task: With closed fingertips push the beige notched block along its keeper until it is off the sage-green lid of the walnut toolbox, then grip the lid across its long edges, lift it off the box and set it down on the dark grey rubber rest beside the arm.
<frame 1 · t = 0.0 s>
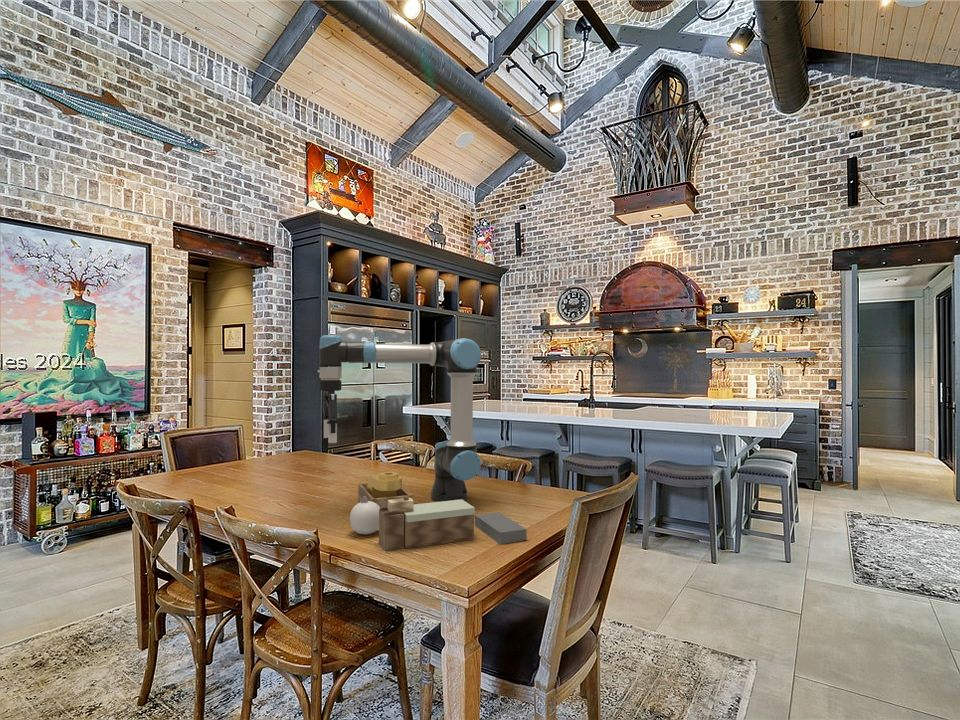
hand: (330, 440, 179), 28 cm above the table, fingers open, 13 cm apart
ornament: (366, 534, 165), on the table
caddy: (383, 514, 186), on the table
beige notched block: (400, 503, 155), point 12 cm above the table, slide at 0.0 cm
toolbox: (435, 539, 159), on the table
lid: (436, 513, 159), point 8 cm above the table, touching toolbox
rest: (499, 532, 166), on the table
tan round stepped piece: (383, 515, 185), resting in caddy
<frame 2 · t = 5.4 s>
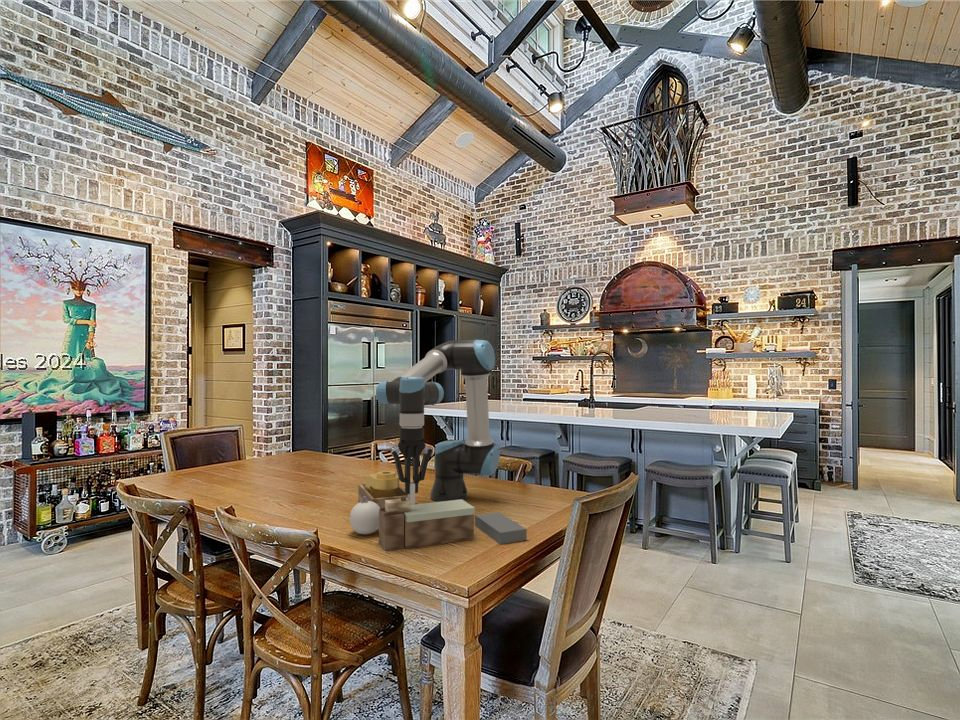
hand: (411, 504, 156), 12 cm above the table, fingers closed
beige notched block: (397, 503, 155), point 12 cm above the table, slide at 0.9 cm, touching gripper
tan round stepped piece: (381, 514, 187), resting in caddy
everything else where it was.
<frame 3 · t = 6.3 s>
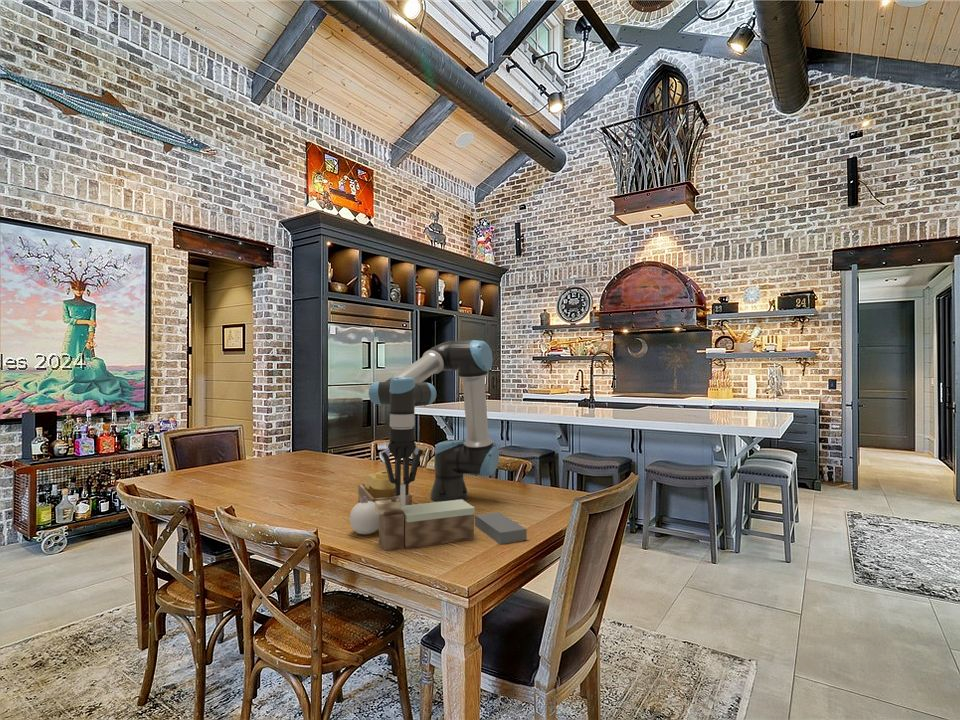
hand: (401, 505, 155), 12 cm above the table, fingers closed
beige notched block: (388, 504, 154), point 12 cm above the table, slide at 3.9 cm, touching gripper
everything else where it was.
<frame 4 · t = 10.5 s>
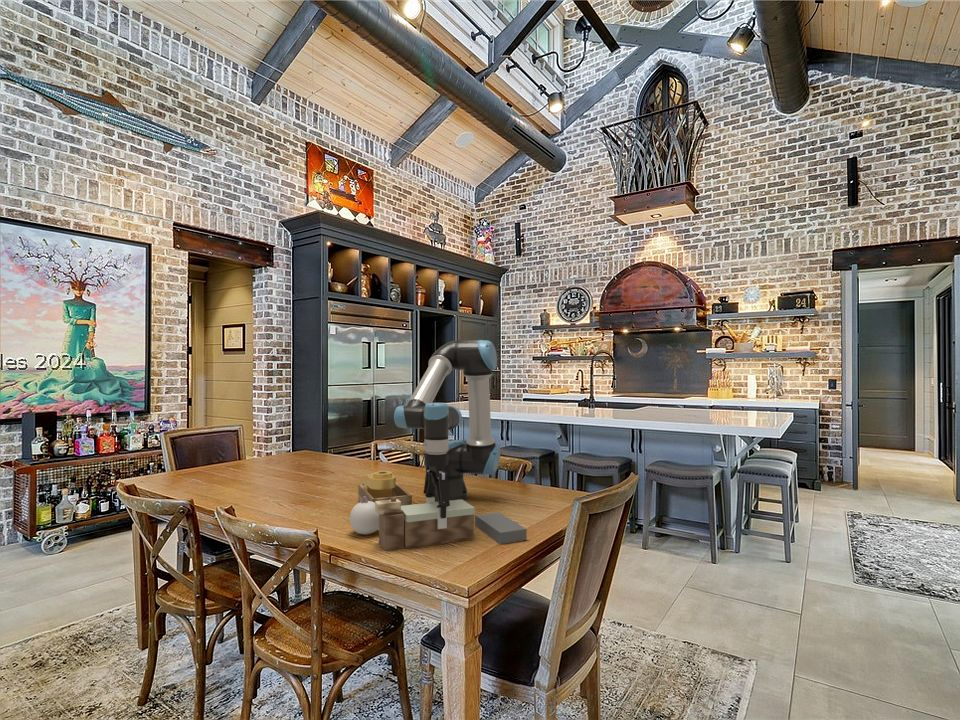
hand: (436, 522, 159), 5 cm above the table, fingers closed on lid, 11 cm apart
beige notched block: (388, 504, 154), point 12 cm above the table, slide at 3.9 cm
lid: (436, 513, 159), point 8 cm above the table, touching gripper, toolbox
when the fingers open (1 cm above the table, at t = 18.8 s): lid stays where it is, resting on rest.
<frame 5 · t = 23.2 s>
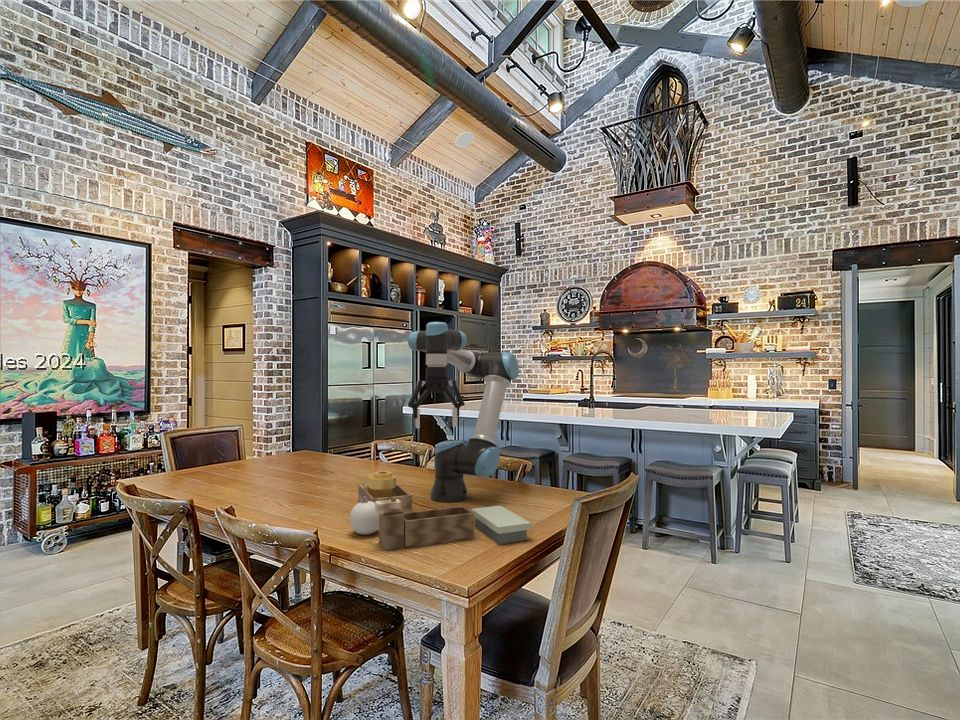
hand: (436, 427, 179), 33 cm above the table, fingers open, 13 cm apart
lid: (499, 521, 166), point 3 cm above the table, touching rest
everything else where it was.
at the end: beige notched block slide at 3.9 cm; lid inside the target area on the rest (0.0 cm from its centre), point 3.5 cm above the rest's base; lid tilted 0° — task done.
